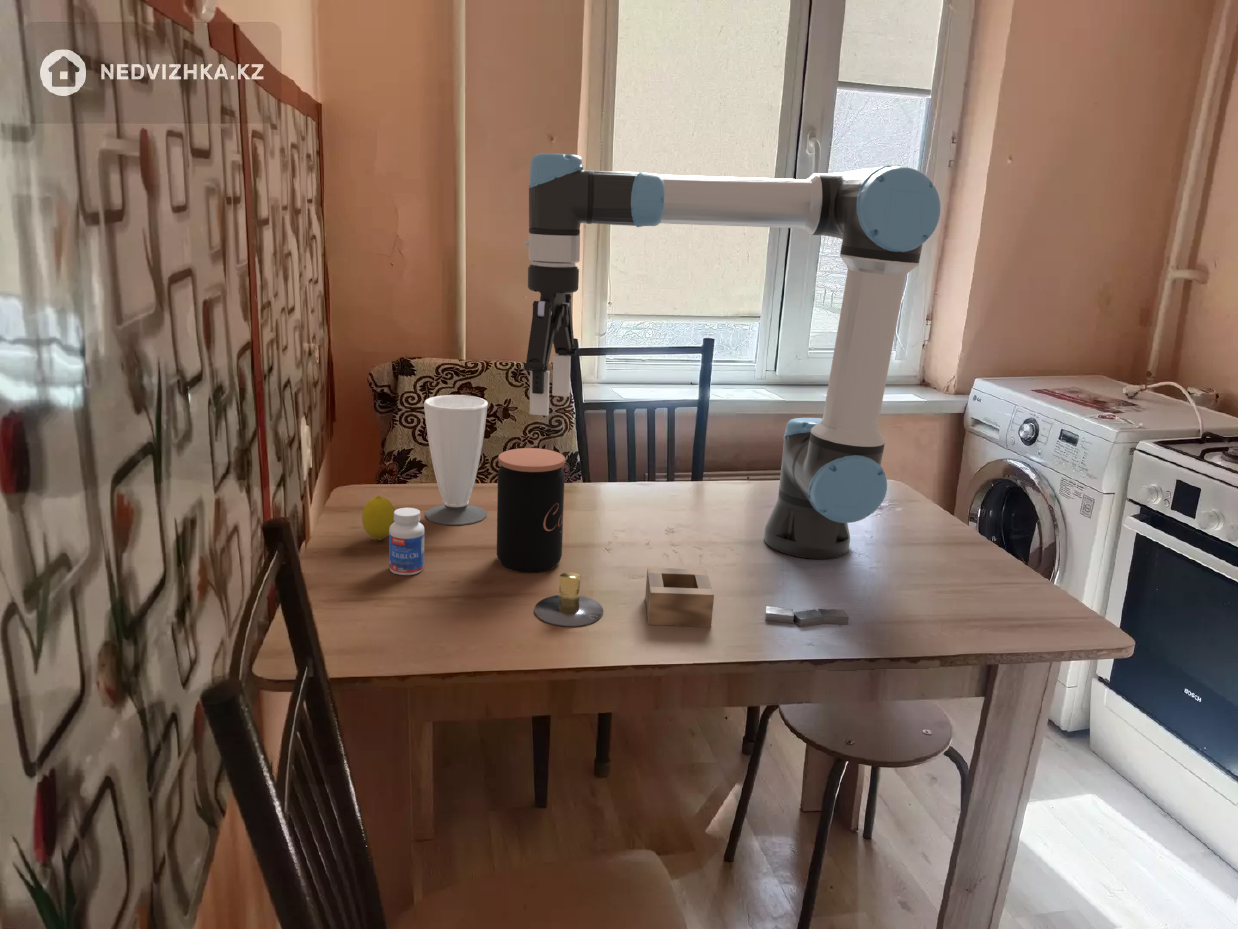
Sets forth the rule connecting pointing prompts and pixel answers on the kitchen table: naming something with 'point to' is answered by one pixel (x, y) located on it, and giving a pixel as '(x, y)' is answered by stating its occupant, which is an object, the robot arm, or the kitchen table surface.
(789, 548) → the robot arm
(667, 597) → the square wooden ring block
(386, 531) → the lemon
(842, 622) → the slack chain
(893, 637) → the kitchen table surface
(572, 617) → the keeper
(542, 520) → the coffee jar
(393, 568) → the pill bottle
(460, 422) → the cup
